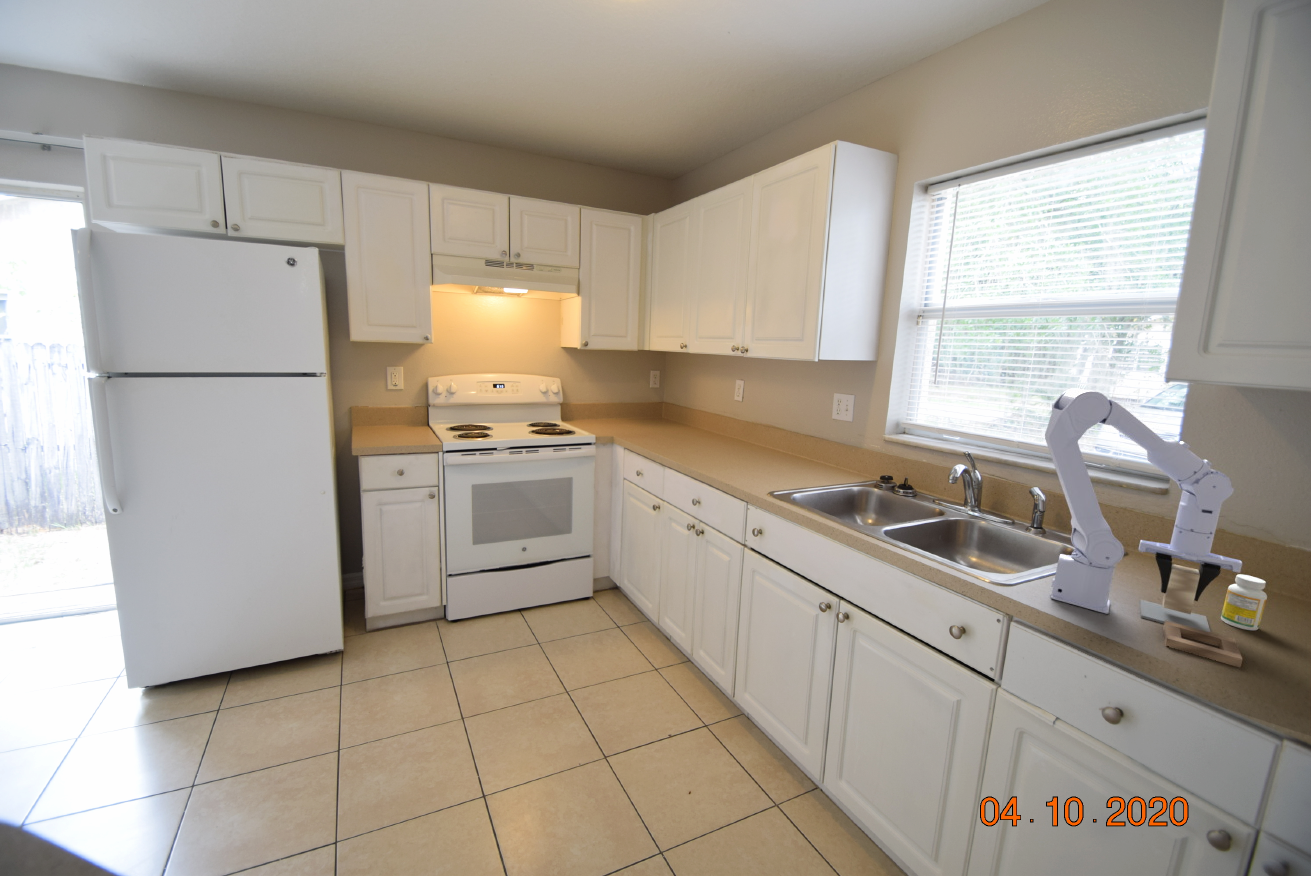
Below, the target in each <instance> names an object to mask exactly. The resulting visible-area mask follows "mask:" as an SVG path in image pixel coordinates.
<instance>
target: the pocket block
mask: <svg viewBox="0 0 1311 876" xmlns="http://www.w3.org/2000/svg"><path fill="white" fill-rule="evenodd" d="M1162 629H1163V637H1164V639H1163V640H1164V644H1165V645H1166V646H1165V645H1164V646H1165V647H1167V646H1169V647H1168V648H1171V649H1174V648H1175V649H1174V650H1178V649H1180V650H1179V651H1181V650H1182V652H1184V651H1185V653H1188V652H1190V653H1189V654H1191V653H1194V654H1193V655H1195V654H1196V656H1198V655H1199V657H1202V656H1203V657H1202V658H1205V657H1207V658H1206V659H1208V658H1209V660H1212V661H1215V660H1216V661H1215V662H1220V663H1223V664H1227V665H1230V666H1232V667H1236V668H1241V667H1242V664H1243V657H1242V654H1241V652H1240V649H1239V647H1238V644H1237V641H1236V638H1232V637H1229V636H1226V635H1225V636H1224V635H1222V634H1217V633H1215V632H1211V631H1210V632H1207V631H1203V630H1199V629H1196V628H1192V627H1188V626H1185V625H1181V624H1177V623H1174V622H1170V621H1166V620H1165V622H1164V624H1163V627H1162ZM1182 637H1183V638H1182ZM1185 638H1187V639H1185ZM1190 638H1191V639H1190ZM1189 639H1190V640H1189ZM1193 639H1194V640H1193ZM1195 641H1197V642H1195ZM1199 642H1201V643H1199ZM1203 643H1205V644H1203ZM1206 644H1208V645H1206ZM1210 645H1212V646H1210Z"/></svg>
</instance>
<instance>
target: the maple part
mask: <svg viewBox="0 0 1311 876" xmlns="http://www.w3.org/2000/svg"><path fill="white" fill-rule="evenodd" d="M1199 578H1200V574H1199V569H1196V568H1193V567H1187V566H1184V565H1178V564H1175V563H1172V566H1171V570H1170V573H1169V577H1168V585H1167V590H1166V593H1163V597H1162V605H1163V608H1167V609H1171V610H1175V611H1179V612H1183V613H1187V614H1190V615H1191V613H1192V611H1193V607H1194V602H1195V601H1194V599H1195V594H1196V590H1197V586H1198V582H1199Z"/></svg>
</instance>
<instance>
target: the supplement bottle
mask: <svg viewBox="0 0 1311 876" xmlns="http://www.w3.org/2000/svg"><path fill="white" fill-rule="evenodd" d="M1234 581H1235V583H1233V584H1230V585H1229V586H1228V588H1227V591H1226V594H1225V599H1224V604H1223V607H1222V611H1221V616H1220V619H1221V621H1222V622H1223V623H1225V624H1226V625H1230V626H1231V627H1235V628H1238V629H1242V630H1246V631H1257V630H1258V629H1259V628H1260V625H1261V621H1262V617H1263V615H1264V610H1265V607H1266V604H1267V603H1266V602H1267V600H1268V599H1267V598H1268V596H1267V595H1268V594H1267V593H1266V592H1264V589H1265V588H1266V581H1265V580H1264V579H1261V578H1259V577H1255V576H1251V575H1249V574H1241V573H1240V574H1237V575H1236V576H1235V579H1234Z"/></svg>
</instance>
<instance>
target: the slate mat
mask: <svg viewBox="0 0 1311 876" xmlns="http://www.w3.org/2000/svg"><path fill="white" fill-rule="evenodd" d="M1139 602H1140V605H1139V606H1140V618H1142V619H1145V620H1149V621H1153V622H1155V621H1156V623H1160V624H1163V625H1164V622H1165V620H1166V621H1170V622H1174V623H1177V624H1181V625H1185V626H1188V627H1192V628H1196V629H1199V630H1203V631H1207V632H1211V628H1210V626H1209V622H1208V619H1207V615H1202V614H1197V613H1195V612H1191V615H1190V614H1187V613H1183V612H1179V611H1175V610H1171V609H1167V608H1163V604H1159V603H1155V602H1152V601H1149V600H1144V599H1140V601H1139Z"/></svg>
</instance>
